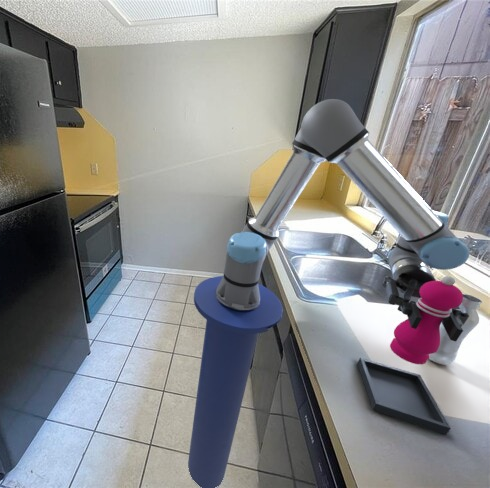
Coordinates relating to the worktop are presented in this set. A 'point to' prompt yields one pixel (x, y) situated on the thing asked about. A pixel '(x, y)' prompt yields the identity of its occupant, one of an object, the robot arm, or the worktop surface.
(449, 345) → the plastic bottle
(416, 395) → the tray
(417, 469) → the worktop surface
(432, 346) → the pepper mill
